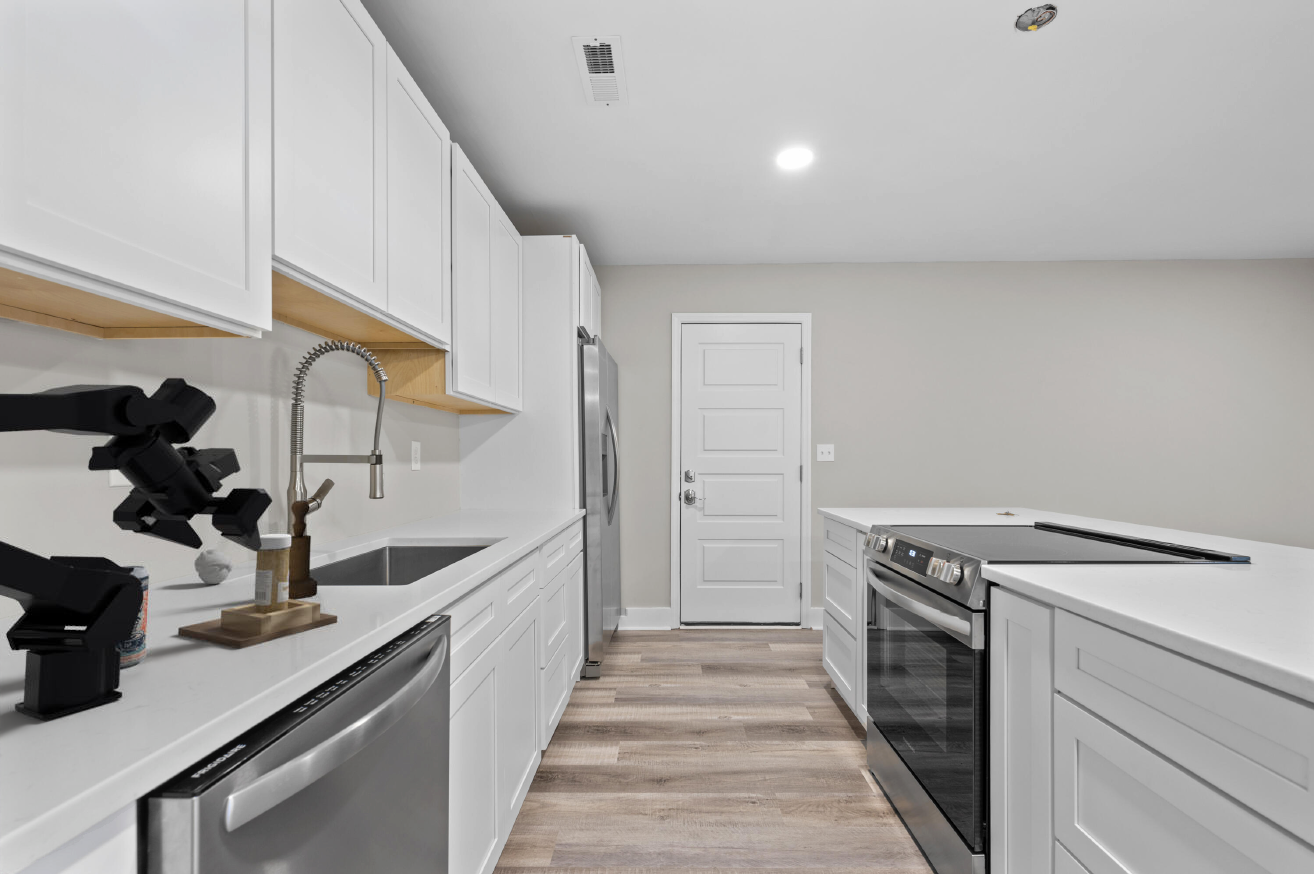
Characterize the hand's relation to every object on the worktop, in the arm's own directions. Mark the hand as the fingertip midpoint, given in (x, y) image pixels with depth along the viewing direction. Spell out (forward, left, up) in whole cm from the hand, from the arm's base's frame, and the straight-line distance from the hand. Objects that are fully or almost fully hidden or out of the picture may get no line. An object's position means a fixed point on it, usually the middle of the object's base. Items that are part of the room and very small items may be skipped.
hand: (229, 547), depth 85 cm
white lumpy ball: (+24, +44, -14) cm, 52 cm away
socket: (+8, +4, -14) cm, 16 cm away
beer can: (-10, +4, -14) cm, 18 cm away
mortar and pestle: (+25, +20, -14) cm, 34 cm away
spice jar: (+7, +2, -13) cm, 15 cm away
